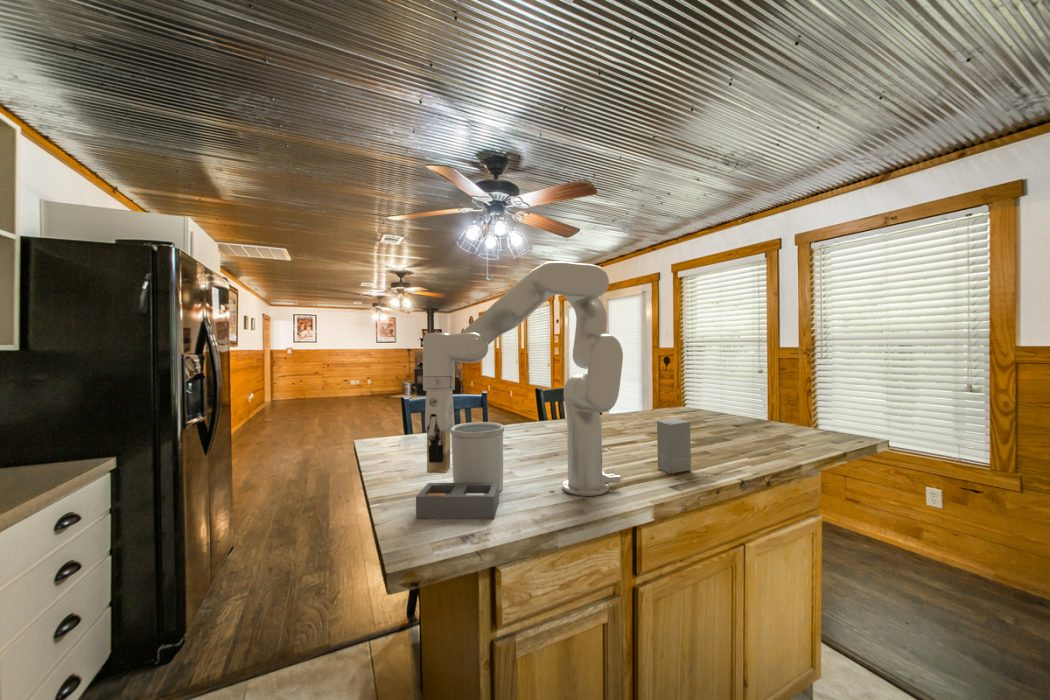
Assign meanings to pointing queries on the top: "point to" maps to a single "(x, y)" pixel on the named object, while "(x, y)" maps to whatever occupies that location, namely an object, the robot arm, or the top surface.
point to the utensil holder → (478, 453)
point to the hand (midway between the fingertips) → (438, 458)
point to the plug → (444, 465)
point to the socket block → (457, 501)
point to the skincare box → (674, 445)
